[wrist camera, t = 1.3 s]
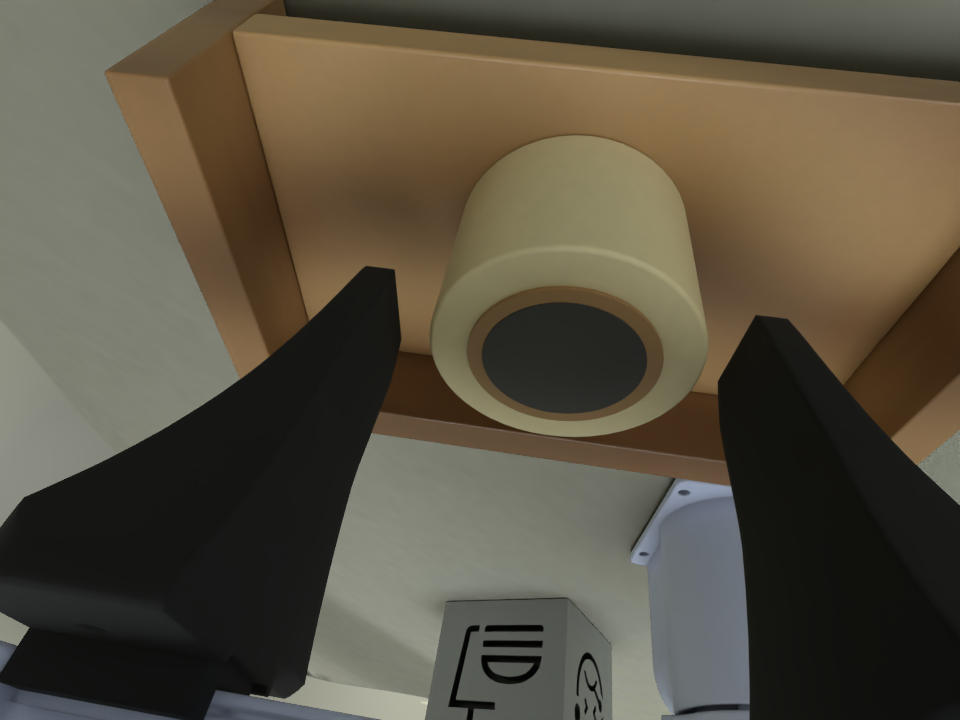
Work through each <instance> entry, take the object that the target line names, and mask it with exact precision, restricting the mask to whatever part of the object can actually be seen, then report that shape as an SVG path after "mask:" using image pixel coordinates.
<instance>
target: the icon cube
mask: <svg viewBox="0 0 960 720" xmlns="http://www.w3.org/2000/svg"><path fill="white" fill-rule="evenodd" d="M425 720H612V658H611V644H610V643H609V642H608V641H607V640H606V639H605V638H604V637H603V636H602V634H601V633H600V632H599V631H598V630H597V629H596V628H595V627H594V626H593V625H592V624H591V623H590V622H589V621H588V619H587V618H586V617H585V616H584V615H583V614H582V613H581V612H580V611H579V610H578V609H577V608H576V607H575V605H574V604H573V603H572V602H571V601H570V600H569V599H568V598H567V599H531V600H495V601H459V602H446V606H445V612H444V617H443V623H442V628H441V634H440V639H439V645H438V650H437V656H436V661H435V667H434V672H433V678H432V683H431V689H430V694H429V701H428V706H427V711H426V717H425Z"/></svg>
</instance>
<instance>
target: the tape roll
mask: <svg viewBox="0 0 960 720" xmlns="http://www.w3.org/2000/svg"><path fill="white" fill-rule="evenodd" d="M430 346H431V352H432V355H433V358H434V361H435V364H436V366H437V368H438V370H439V372H440V374H441V376H442V377H443V379H444V380H445V382H446V383H447V385H448V386H449V387H450V388H451V389H452V390H453V391H454V392H455V393H456V395H458V396H459V397H460V398H461V399H462V400H463V401H464V402H466V403H467V404H468V405H470V406H471V407H473V408H474V409H476V410H477V411H479V412H480V413H482V414H484V415H486V416H487V417H489V418H491V419H494V420H496V421H498V422H500V423H503V424H505V425H508V426H511V427H514V428H517V429H521V430H524V431H528V432H533V433H538V434H544V435H552V436H562V437H585V436H597V435H605V434H610V433H615V432H620V431H624V430H627V429H631V428H634V427H637V426H639V425H642V424H644V423H647V422H649V421H651V420H653V419H655V418H657V417H659V416H661V415H662V414H664V413H665V412H667V411H669V410H670V409H672V408H673V407H674V406H675V405H677V404H678V403H679V402H680V401H681V400H682V399H684V397H685V396H686V395H687V394H688V393H689V392H690V391H691V390H692V388H693V387H694V385H695V384H696V382H697V381H698V379H699V377H700V375H701V373H702V370H703V368H704V365H705V363H706V359H707V354H708V332H707V327H706V321H705V316H704V310H703V305H702V299H701V294H700V288H699V283H698V277H697V272H696V266H695V261H694V255H693V250H692V244H691V239H690V233H689V228H688V222H687V217H686V212H685V207H684V204H683V201H682V198H681V196H680V193H679V191H678V190H677V188H676V186H675V185H674V183H673V181H672V180H671V179H670V177H669V176H668V175H667V174H666V173H665V171H664V170H663V169H662V168H661V167H660V166H658V165H657V164H656V163H655V162H654V161H653V160H652V159H650V158H649V157H647V156H646V155H644V154H643V153H641V152H639V151H638V150H636V149H633V148H631V147H629V146H627V145H625V144H623V143H619V142H616V141H613V140H610V139H606V138H600V137H595V136H583V135H569V136H557V137H552V138H548V139H543V140H539V141H536V142H533V143H531V144H528V145H525V146H523V147H521V148H519V149H517V150H515V151H513V152H511V153H509V154H508V155H506V156H505V157H503V158H502V159H500V160H499V161H498V162H496V163H495V164H494V165H493V166H492V167H491V168H490V169H489V170H488V171H486V173H485V174H484V175H483V176H482V177H481V179H480V180H479V181H478V182H477V184H476V185H475V187H474V189H473V190H472V192H471V194H470V196H469V198H468V201H467V203H466V205H465V209H464V212H463V215H462V219H461V222H460V225H459V229H458V232H457V235H456V239H455V242H454V246H453V249H452V252H451V256H450V259H449V262H448V266H447V269H446V272H445V276H444V279H443V283H442V286H441V289H440V293H439V296H438V299H437V303H436V306H435V309H434V313H433V317H432V321H431V325H430Z"/></svg>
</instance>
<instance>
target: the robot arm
mask: <svg viewBox="0 0 960 720" xmlns="http://www.w3.org/2000/svg"><path fill="white" fill-rule="evenodd" d="M401 339H402V338H401V328H400V317H399V307H398V297H397V286H396V276H395V269H388V268H380V267H372V266H365V267H364V268H362V269H361V270H360V271H359V272H358V273H357V274H356V275H355V276H354V277H353V278H352V279H351V280H350V281H349V282H348V283H347V284H346V285H345V286H344V287H343V289H342V290H341V291H340V292H339V293H338V294H337V295H336V296H335V297H334V298H333V299H332V300H331V301H330V302H329V303H328V304H327V305H326V306H325V307H324V308H323V309H321V310H320V311H319V312H318V313H317V314H316V315H315V316H314V317H313V318H312V319H311V320H310V321H309V322H308V323H307V324H306V325H305V326H303V327H302V328H301V329H300V330H299V331H298V332H297V333H296V334H295V335H294V336H293V337H291V338H290V339H289V340H288V341H287V342H286V343H284V344H283V345H282V346H281V347H280V348H279V349H277V350H276V351H275V352H274V353H273V354H271V355H270V356H269V357H268V358H267V359H266V360H264V361H263V362H262V363H261V364H259V365H258V366H257V367H256V368H254V369H253V370H252V371H250V372H249V373H248V374H247V375H245V376H244V377H243V378H241V379H240V380H238V381H237V382H236V383H234V384H233V385H232V386H230V387H229V388H227V389H226V390H225V391H223V392H222V393H220V394H219V395H217V396H216V397H214V398H213V399H211V400H210V401H208V402H207V403H205V404H204V405H202V406H200V407H199V408H197V409H196V410H194V411H192V412H191V413H189V414H188V415H186V416H184V417H183V418H181V419H180V420H178V421H176V422H175V423H173V424H171V425H170V426H168V427H166V428H165V429H163V430H161V431H159V432H158V433H156V434H154V435H152V436H150V437H149V438H147V439H145V440H143V441H141V442H140V443H138V444H136V445H134V446H132V447H130V448H128V449H126V450H124V451H122V452H120V453H118V454H117V455H115V456H113V457H111V458H109V459H107V460H105V461H103V462H101V463H99V464H97V465H95V466H93V467H90V468H88V469H86V470H84V471H82V472H80V473H77V474H75V475H73V476H71V477H68V478H66V479H64V480H62V481H60V482H58V483H55V484H53V485H51V486H49V487H47V488H44V489H42V490H40V491H38V492H35V493H33V494H31V495H29V496H26V497H24V498H23V499H22V501H21V502H20V503H19V504H18V505H17V507H16V508H15V509H14V510H13V512H12V513H11V515H10V516H9V517H8V518H7V519H6V521H5V522H4V523H3V525H2V526H1V527H0V612H1V613H3V614H5V615H7V616H9V617H11V618H13V619H15V620H16V621H18V622H20V623H22V624H24V625H26V626H28V627H30V628H29V629H28V631H27V633H26V634H25V636H24V637H23V639H22V640H21V642H20V643H19V645H18V646H16V645H13V644H10V643H7V642H3V641H0V720H379V719H373V718H367V717H363V716H357V715H352V714H346V713H341V712H335V711H329V710H324V709H318V708H313V707H307V706H302V705H296V704H291V703H285V702H280V701H274V700H268V699H263V698H258V697H252V696H250V694H254V695H259V696H265V697H268V696H273V697H278V698H287V697H289V696H291V695H292V694H293V693H295V692H296V691H298V690H299V689H300V688H301V687H302V686H303V685H304V684H305V679H306V674H307V669H308V664H309V660H310V655H311V650H312V646H313V641H314V636H315V632H316V627H317V622H318V618H319V613H320V609H321V605H322V601H323V596H324V592H325V588H326V583H327V579H328V575H329V571H330V567H331V563H332V559H333V555H334V551H335V547H336V543H337V539H338V535H339V531H340V527H341V524H342V520H343V516H344V513H345V509H346V505H347V502H348V498H349V494H350V490H351V487H352V484H353V481H354V478H355V475H356V472H357V469H358V466H359V464H360V461H361V459H362V456H363V453H364V451H365V448H366V446H367V443H368V441H369V438H370V435H371V433H372V430H373V428H374V425H375V422H376V420H377V417H378V415H379V412H380V410H381V407H382V404H383V402H384V399H385V396H386V394H387V391H388V388H389V386H390V383H391V380H392V376H393V372H394V369H395V365H396V361H397V356H398V352H399V348H400V344H401ZM718 409H719V425H720V432H721V437H722V443H723V448H724V453H725V458H726V464H727V469H728V474H729V479H730V484H731V486H726V485H719V484H713V483H706V482H699V481H692V480H686V479H679V478H676V479H675V481H674V482H673V484H672V486H671V487H670V489H669V491H668V492H667V494H666V496H665V497H664V499H663V501H662V502H661V504H660V505H659V507H658V509H657V510H656V512H655V514H654V515H653V517H652V519H651V520H650V522H649V524H648V525H647V527H646V529H645V530H644V532H643V534H642V535H641V537H640V539H639V540H638V542H637V543H636V545H635V547H634V548H633V550H632V552H631V553H630V561H631V562H632V563H634V564H638V565H645V566H647V567H648V585H649V602H650V620H651V638H652V655H653V669H654V676H655V681H656V684H657V687H658V690H659V693H660V695H661V697H662V699H663V701H664V703H665V704H666V706H667V708H668V709H669V711H670V712H671V713H672V715H662V716H661V717H662V720H960V505H959V504H958V503H956V502H955V501H954V500H953V499H952V498H951V497H950V496H949V495H948V494H947V493H946V492H945V491H943V490H942V489H941V488H940V487H939V486H938V485H937V484H936V483H935V482H934V481H933V480H932V479H930V478H929V477H928V476H927V475H926V474H925V473H924V472H923V471H922V470H921V469H920V468H919V467H918V466H917V465H916V464H915V463H914V462H913V461H912V460H911V459H910V458H909V457H908V456H907V455H906V454H905V453H904V452H903V451H902V450H901V449H900V448H899V447H898V446H897V445H896V444H895V443H894V442H893V441H892V439H891V438H890V437H889V436H888V435H887V434H886V433H885V432H884V431H883V430H882V429H881V428H880V427H879V426H878V425H877V423H876V422H875V421H874V420H873V419H872V418H871V417H870V416H869V415H868V413H867V412H866V411H865V410H864V409H863V408H862V407H861V406H860V404H859V403H858V402H857V401H856V400H855V399H854V397H853V396H852V395H851V394H850V393H849V392H848V390H847V389H846V388H845V387H844V386H843V384H842V383H841V382H840V381H839V380H838V378H837V377H836V376H835V375H834V374H833V372H832V371H831V370H830V369H829V368H828V366H827V365H826V364H825V363H824V361H823V360H822V359H821V358H820V357H819V355H818V354H817V353H816V352H815V350H814V349H813V348H812V347H811V346H810V344H809V343H808V342H807V341H806V339H805V338H804V337H803V336H802V335H801V333H800V332H799V331H798V330H797V329H796V327H795V326H794V325H793V324H792V323H791V322H790V321H789V320H788V319H785V318H777V317H769V316H761V315H755V317H754V319H753V321H752V322H751V324H750V326H749V327H748V329H747V331H746V333H745V334H744V336H743V338H742V340H741V341H740V343H739V345H738V347H737V348H736V350H735V352H734V354H733V355H732V357H731V359H730V361H729V362H728V364H727V366H726V368H725V369H724V371H723V373H722V375H721V376H720V378H719V380H718Z"/></svg>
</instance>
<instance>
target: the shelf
mask: <svg viewBox="0 0 960 720" xmlns="http://www.w3.org/2000/svg"><path fill="white" fill-rule="evenodd" d="M105 76H106V78H107V80H108V83H109V85H110V87H111V89H112V92H113V94H114V96H115V98H116V101H117V103H118V105H119V107H120V110H121V112H122V114H123V116H124V119H125V121H126V123H127V125H128V128H129V130H130V132H131V134H132V137H133V139H134V141H135V143H136V146H137V148H138V150H139V152H140V155H141V157H142V159H143V161H144V164H145V166H146V168H147V170H148V173H149V175H150V177H151V180H152V182H153V184H154V186H155V189H156V191H157V193H158V195H159V198H160V200H161V202H162V204H163V207H164V209H165V211H166V213H167V216H168V218H169V220H170V222H171V225H172V227H173V229H174V231H175V234H176V236H177V238H178V240H179V243H180V245H181V247H182V249H183V252H184V254H185V256H186V258H187V261H188V263H189V265H190V267H191V270H192V272H193V274H194V276H195V279H196V281H197V283H198V285H199V288H200V290H201V292H202V294H203V297H204V299H205V301H206V303H207V306H208V308H209V310H210V312H211V315H212V317H213V319H214V321H215V324H216V326H217V328H218V330H219V333H220V335H221V337H222V339H223V342H224V344H225V346H226V348H227V351H228V353H229V355H230V357H231V360H232V362H233V364H234V366H235V369H236V371H237V373H238V375H239V378H240V379H241V378H243V377H244V376H245V375H247V374H248V373H249V372H250V371H252V370H253V369H254V368H256V367H257V366H258V365H259V364H261V363H262V362H263V361H264V360H266V359H267V358H268V357H269V356H270V355H271V354H273V353H274V352H275V351H276V350H277V349H279V348H280V347H281V346H282V345H283V344H284V343H286V342H287V341H288V340H289V339H290V338H291V337H293V336H294V335H295V334H296V333H297V332H298V331H299V330H300V329H301V328H302V327H303V326H305V325H306V324H307V323H308V322H309V321H310V320H311V319H312V318H313V317H314V316H315V315H316V314H317V313H318V312H319V311H320V310H321V309H323V308H324V307H325V306H326V305H327V304H328V303H329V302H330V301H331V300H332V299H333V298H334V297H335V296H336V295H337V294H338V293H339V292H340V291H341V290H342V289H343V287H344V286H345V285H346V284H347V283H348V282H349V281H350V280H351V279H352V278H353V277H354V276H355V275H356V274H357V273H358V272H359V271H360V270H361V269H362V268H364V267H365V266H372V267H380V268H388V269H395V276H396V286H397V297H398V307H399V317H400V328H401V338H402V339H401V344H400V348H399V352H398V356H397V361H396V365H395V369H394V372H393V376H392V380H391V383H390V386H389V388H388V391H387V394H386V396H385V399H384V402H383V404H382V407H381V410H380V412H379V415H378V417H377V420H376V422H375V425H374V428H373V430H372V433H375V434H382V435H389V436H395V437H402V438H409V439H416V440H422V441H429V442H436V443H443V444H449V445H456V446H463V447H470V448H476V449H483V450H490V451H497V452H503V453H510V454H517V455H524V456H530V457H537V458H544V459H551V460H557V461H564V462H571V463H578V464H584V465H591V466H598V467H605V468H611V469H618V470H625V471H632V472H638V473H645V474H652V475H659V476H665V477H672V478H679V479H686V480H692V481H699V482H706V483H713V484H719V485H726V486H731V484H730V479H729V474H728V469H727V464H726V458H725V453H724V448H723V443H722V437H721V432H720V425H719V409H718V380H719V378H720V376H721V375H722V373H723V371H724V369H725V368H726V366H727V364H728V362H729V361H730V359H731V357H732V355H733V354H734V352H735V350H736V348H737V347H738V345H739V343H740V341H741V340H742V338H743V336H744V334H745V333H746V331H747V329H748V327H749V326H750V324H751V322H752V321H753V319H754V317H755V315H761V316H769V317H777V318H785V319H788V320H789V321H790V322H791V323H792V324H793V325H794V326H795V327H796V329H797V330H798V331H799V332H800V333H801V335H802V336H803V337H804V338H805V339H806V341H807V342H808V343H809V344H810V346H811V347H812V348H813V349H814V350H815V352H816V353H817V354H818V355H819V357H820V358H821V359H822V360H823V361H824V363H825V364H826V365H827V366H828V368H829V369H830V370H831V371H832V372H833V374H834V375H835V376H836V377H837V378H838V380H839V381H840V382H841V383H842V384H843V386H844V387H845V388H846V389H847V390H848V392H849V393H850V394H851V395H852V396H853V397H854V399H855V400H856V401H857V402H858V403H859V404H860V406H861V407H862V408H863V409H864V410H865V411H866V412H867V413H868V415H869V416H870V417H871V418H872V419H873V420H874V421H875V422H876V423H877V425H878V426H879V427H880V428H881V429H882V430H883V431H884V432H885V433H886V434H887V435H888V436H889V437H890V438H891V439H892V441H893V442H894V443H895V444H896V445H897V446H898V447H899V448H900V449H901V450H902V451H903V452H904V453H905V454H906V455H907V456H908V457H909V458H910V459H911V460H912V461H913V462H914V463H915V464H916V465H918V464H919V463H920V462H921V461H923V460H924V459H925V458H926V457H927V456H929V455H930V454H931V453H932V452H933V451H935V450H936V449H937V448H938V447H939V446H941V445H942V444H943V443H944V442H946V441H947V440H948V439H949V438H950V437H952V436H953V435H954V434H955V433H956V432H958V431H959V430H960V82H957V81H946V80H936V79H926V78H915V77H905V76H895V75H884V74H874V73H864V72H854V71H843V70H833V69H823V68H812V67H802V66H792V65H781V64H771V63H761V62H751V61H740V60H730V59H720V58H709V57H699V56H689V55H679V54H668V53H658V52H648V51H637V50H627V49H617V48H606V47H596V46H586V45H576V44H565V43H555V42H545V41H534V40H524V39H514V38H504V37H493V36H483V35H473V34H462V33H452V32H442V31H431V30H421V29H411V28H401V27H390V26H380V25H370V24H359V23H349V22H339V21H328V20H318V19H308V18H298V17H287V15H286V10H285V5H284V0H214V1H212V2H211V3H209V4H207V5H206V6H204V7H203V8H201V9H200V10H198V11H197V12H195V13H194V14H192V15H191V16H189V17H187V18H186V19H184V20H183V21H181V22H180V23H178V24H177V25H175V26H174V27H172V28H170V29H169V30H167V31H166V32H164V33H163V34H161V35H160V36H158V37H157V38H155V39H154V40H152V41H150V42H149V43H147V44H146V45H144V46H143V47H141V48H140V49H138V50H137V51H135V52H134V53H132V54H130V55H129V56H127V57H126V58H124V59H123V60H121V61H120V62H118V63H117V64H115V65H113V66H112V67H110V68H109V69H107V70H106V71H105ZM569 135H583V136H595V137H600V138H606V139H610V140H613V141H616V142H619V143H623V144H625V145H627V146H629V147H631V148H633V149H636V150H638V151H639V152H641V153H643V154H644V155H646V156H647V157H649V158H650V159H652V160H653V161H654V162H655V163H656V164H657V165H658V166H660V167H661V168H662V169H663V170H664V171H665V173H666V174H667V175H668V176H669V177H670V179H671V180H672V181H673V183H674V185H675V186H676V188H677V190H678V191H679V193H680V196H681V198H682V201H683V204H684V207H685V212H686V217H687V222H688V228H689V233H690V239H691V244H692V250H693V255H694V261H695V266H696V272H697V277H698V283H699V288H700V294H701V299H702V305H703V310H704V316H705V321H706V327H707V332H708V354H707V359H706V363H705V365H704V368H703V370H702V373H701V375H700V377H699V379H698V381H697V382H696V384H695V385H694V387H693V388H692V390H691V391H690V392H689V393H688V394H687V395H686V396H685V397H684V399H682V400H681V401H680V402H679V403H678V404H677V405H675V406H674V407H673V408H672V409H670V410H669V411H667V412H665V413H664V414H662V415H661V416H659V417H657V418H655V419H653V420H651V421H649V422H647V423H644V424H642V425H639V426H637V427H634V428H631V429H627V430H624V431H620V432H615V433H610V434H605V435H597V436H585V437H562V436H552V435H544V434H538V433H533V432H528V431H524V430H521V429H517V428H514V427H511V426H508V425H505V424H503V423H500V422H498V421H496V420H494V419H491V418H489V417H487V416H486V415H484V414H482V413H480V412H479V411H477V410H476V409H474V408H473V407H471V406H470V405H468V404H467V403H466V402H464V401H463V400H462V399H461V398H460V397H459V396H458V395H456V393H455V392H454V391H453V390H452V389H451V388H450V387H449V386H448V385H447V383H446V382H445V380H444V379H443V377H442V376H441V374H440V372H439V370H438V368H437V366H436V364H435V361H434V358H433V355H432V352H431V346H430V325H431V321H432V317H433V313H434V309H435V306H436V303H437V299H438V296H439V293H440V289H441V286H442V283H443V279H444V276H445V272H446V269H447V266H448V262H449V259H450V256H451V252H452V249H453V246H454V242H455V239H456V235H457V232H458V229H459V225H460V222H461V219H462V215H463V212H464V209H465V205H466V203H467V201H468V198H469V196H470V194H471V192H472V190H473V189H474V187H475V185H476V184H477V182H478V181H479V180H480V179H481V177H482V176H483V175H484V174H485V173H486V171H488V170H489V169H490V168H491V167H492V166H493V165H494V164H495V163H496V162H498V161H499V160H500V159H502V158H503V157H505V156H506V155H508V154H509V153H511V152H513V151H515V150H517V149H519V148H521V147H523V146H525V145H528V144H531V143H533V142H536V141H539V140H543V139H548V138H552V137H557V136H569Z"/></svg>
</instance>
